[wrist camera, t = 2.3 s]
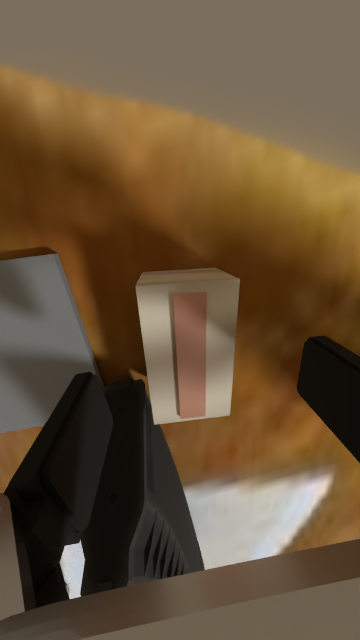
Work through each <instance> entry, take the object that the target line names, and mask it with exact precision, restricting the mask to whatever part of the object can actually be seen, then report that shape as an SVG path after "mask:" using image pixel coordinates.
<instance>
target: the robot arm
mask: <svg viewBox="0 0 360 640" xmlns="http://www.w3.org/2000/svg"><path fill="white" fill-rule="evenodd" d="M297 390H298V393H299V394H300V396H301V397H302V398H303V399H304V400H305V401H306V402H307V404H308V405H309V406H310V407H311V408H312V409H313V410H314V412H315V413H316V414H317V415H318V416H319V417H320V418H321V419H322V421H323V422H324V423H325V424H326V425H327V426H328V427H329V429H330V430H331V431H332V432H333V433H334V434H335V435H336V437H337V438H338V439H339V440H340V441H341V442H342V443H343V444H344V446H345V447H346V448H347V449H348V450H349V451H350V452H351V454H352V455H353V456H354V457H355V458H356V459H357V460H358V461H359V463H360V357H359V356H358V355H356V354H354V353H353V352H351V351H349V350H348V349H346V348H344V347H343V346H341V345H340V344H338V343H336V342H335V341H333V340H331V339H330V338H328V337H326V336H316V337H310V338H308V340H307V341H306V342H305V343H304V348H303V354H302V360H301V366H300V372H299V378H298V384H297ZM112 428H113V417H112V414H111V412H110V409H109V406H108V404H107V401H106V398H105V396H104V393H103V390H102V388H101V385H100V382H99V379H98V377H97V375H95V374H94V375H93V373H92V372H85V373H79V374H76V375H75V376H74V378H73V379H72V381H71V382H70V384H69V386H68V387H67V389H66V391H65V392H64V394H63V396H62V397H61V399H60V400H59V402H58V404H57V405H56V407H55V409H54V410H53V412H52V414H51V415H50V417H49V419H48V420H47V422H46V423H45V425H44V427H43V428H42V430H41V432H40V433H39V435H38V437H37V438H36V440H35V441H34V443H33V445H32V446H31V448H30V450H29V451H28V453H27V455H26V456H25V458H24V459H23V461H22V463H21V464H20V466H19V468H18V469H17V471H16V473H15V474H14V476H13V478H12V479H11V481H10V482H9V485H8V487H7V488H6V490H5V492H4V493H3V494H2V493H0V640H360V539H357V540H351V541H346V542H341V543H336V544H331V545H326V546H321V547H316V548H311V549H306V550H301V551H297V552H292V553H287V554H282V555H277V556H272V557H267V558H262V559H257V560H252V561H247V562H242V563H237V564H232V565H227V566H222V567H217V568H213V569H208V570H203V571H198V572H193V573H189V574H184V575H179V576H174V577H169V578H164V579H160V580H155V581H150V582H145V583H140V584H135V585H131V586H126V587H121V588H117V589H112V590H108V591H104V592H100V593H95V594H91V595H87V596H82V597H78V598H74V599H69V592H70V591H69V588H68V586H67V585H66V584H65V581H64V577H63V574H62V570H61V567H60V563H59V562H60V559H61V556H62V553H63V550H64V546H65V545H71V544H76V543H79V542H80V538H81V534H82V530H84V529H86V528H87V526H88V524H89V520H90V517H91V513H92V508H93V504H94V500H95V496H96V492H97V488H98V484H99V480H100V476H101V472H102V468H103V464H104V460H105V456H106V452H107V448H108V444H109V440H110V436H111V432H112Z"/></svg>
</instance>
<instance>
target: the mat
mask: <svg viewBox="0 0 360 640" xmlns="http://www.w3.org/2000/svg"><path fill="white" fill-rule="evenodd" d="M85 372H92V373H93V375H94V374H95V375H97V377H98V379H99V382H100V385H101V388H102V389H103V388H104V387H105V386H104V384H103V381H102V378H101V375H100V372H99V369H98V366H97V364H96V361H95V358H94V355H93V352H92V349H91V346H90V344H89V341H88V338H87V335H86V332H85V329H84V326H83V324H82V321H81V318H80V315H79V312H78V309H77V306H76V304H75V301H74V298H73V295H72V292H71V289H70V286H69V284H68V281H67V278H66V275H65V272H64V269H63V267H62V264H61V261H60V258H59V255H58V253H56V254H48V255H40V256H33V257H25V258H18V259H10V260H2V261H0V433H4V432H10V431H16V430H21V429H27V428H33V427H38V426H44V425H45V423H46V422H47V420H48V419H49V417H50V415H51V414H52V412H53V410H54V409H55V407H56V405H57V404H58V402H59V400H60V399H61V397H62V396H63V394H64V392H65V391H66V389H67V387H68V386H69V384H70V382H71V381H72V379H73V378H74V376H75V375H76V374H79V373H85Z"/></svg>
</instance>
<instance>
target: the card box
mask: <svg viewBox="0 0 360 640" xmlns="http://www.w3.org/2000/svg"><path fill="white" fill-rule="evenodd" d="M239 286H240V279H239V278H237V277H234V276H232V275H230V274H228V273H226V272H224V271H222V270H220V269H217V268H201V269H185V270H168V271H152V272H142V274H141V276H140V278H139V280H138V282H137V284H136V286H135V287H136V294H137V302H138V309H139V317H140V324H141V331H142V339H143V346H144V354H145V361H146V368H147V376H148V383H149V391H150V398H151V405H152V413H153V420H154V425H157V424H164V423H172V422H180V421H188V420H196V419H204V418H212V417H220V416H228V415H230V406H231V393H232V380H233V366H234V353H235V340H236V326H237V313H238V300H239Z"/></svg>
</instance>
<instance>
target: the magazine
mask: <svg viewBox="0 0 360 640" xmlns="http://www.w3.org/2000/svg"><path fill="white" fill-rule="evenodd" d="M102 390H103V393H104V396H105V398H106V401H107V404H108V406H109V409H110V412H111V414H112V417H113V428H112V432H111V436H110V440H109V444H108V448H107V452H106V456H105V460H104V464H103V468H102V472H101V476H100V480H99V484H98V488H97V492H96V496H95V500H94V504H93V508H92V513H91V517H90V520H89V524H88V526H87V528H86V529H84V530H82V534H81V538H80V539H81V544H82V548H83V553H84V557H85V564H84V571H83V578H82V586H81V593H80V594H81V597H82V596H87V595H91V594H95V593H100V592H104V591H108V590H112V589H117V588H121V587H126V586H131V585H135V584H140V583H145V582H150V581H155V580H160V579H164V578H169V577H174V576H179V575H184V574H189V573H193V572H198V571H203V570H205V569H204V564H203V559H202V555H201V551H200V547H199V543H198V541H197V537H196V533H195V530H194V526H193V522H192V519H191V515H190V511H189V508H188V504H187V501H186V497H185V494H184V491H183V488H182V484H181V481H180V478H179V475H178V472H177V469H176V466H175V463H174V461H173V458H172V455H171V452H170V450H169V447H168V444H167V442H166V439H165V437H164V434H163V432H162V429H161V427H160V425H159V424H157V425H154V420H153V413H152V405H151V403H150V400H149V398H148V396H147V393H146V391H145V384H144V382H143V380H141V379H139V380H135V381H132V379H130V380H125V381H121V382H117V383H112V386H109V387H104V388H103V389H102Z"/></svg>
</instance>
